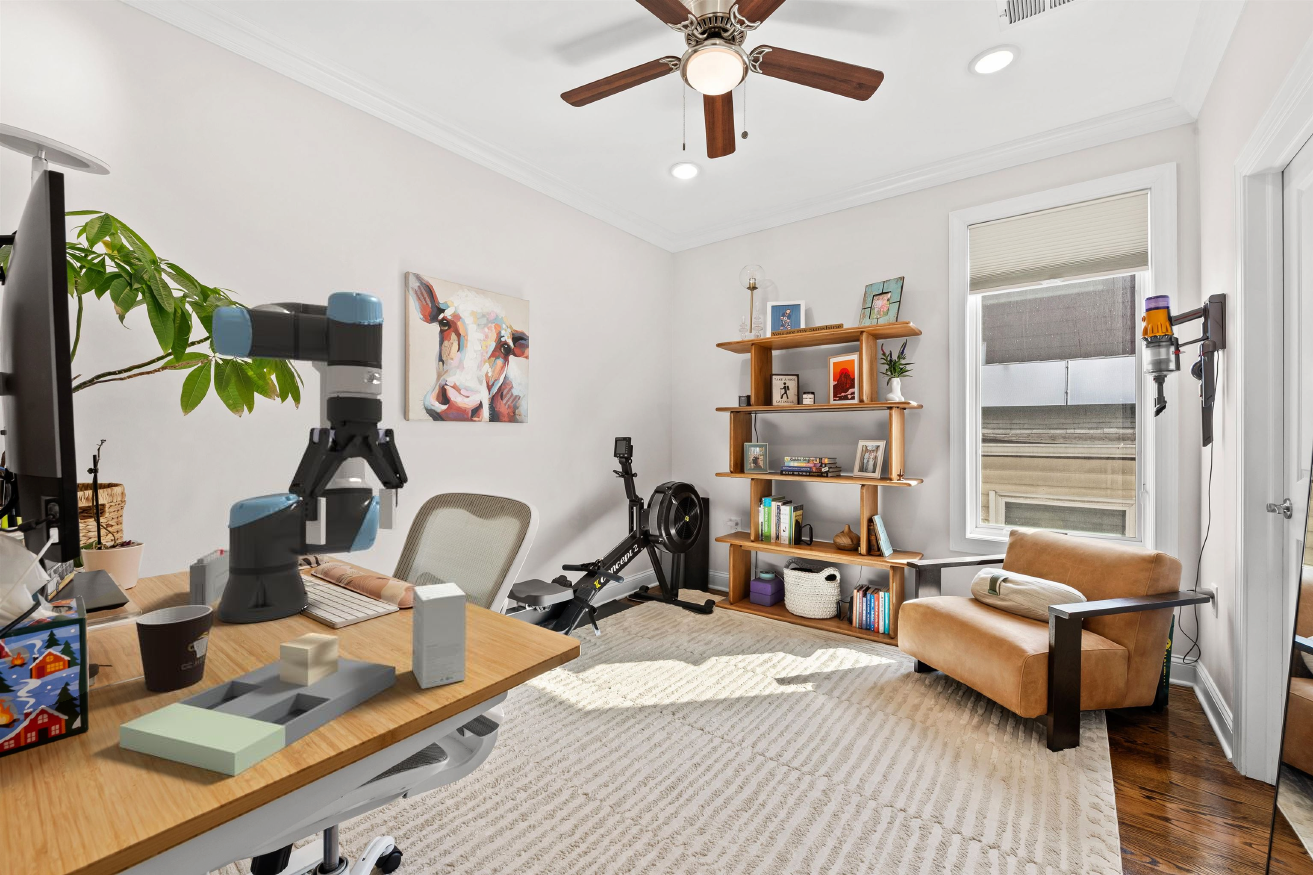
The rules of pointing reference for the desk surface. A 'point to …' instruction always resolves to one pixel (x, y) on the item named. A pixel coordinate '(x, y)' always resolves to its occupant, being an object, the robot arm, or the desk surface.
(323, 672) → the maple block
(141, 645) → the coffee mug
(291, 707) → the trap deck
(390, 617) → the desk surface
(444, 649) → the small box
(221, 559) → the cassette player
